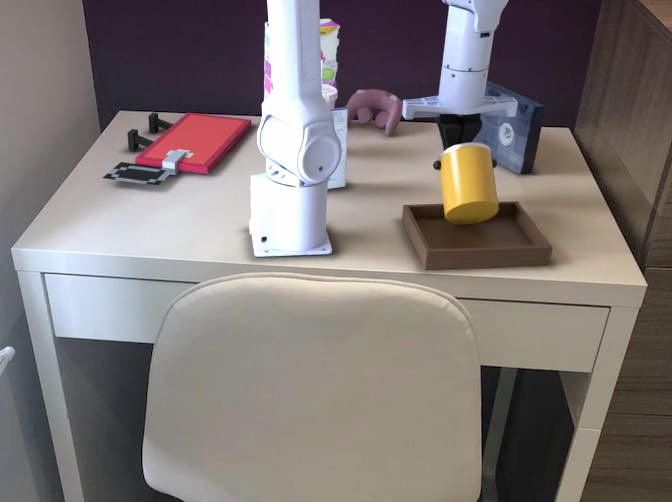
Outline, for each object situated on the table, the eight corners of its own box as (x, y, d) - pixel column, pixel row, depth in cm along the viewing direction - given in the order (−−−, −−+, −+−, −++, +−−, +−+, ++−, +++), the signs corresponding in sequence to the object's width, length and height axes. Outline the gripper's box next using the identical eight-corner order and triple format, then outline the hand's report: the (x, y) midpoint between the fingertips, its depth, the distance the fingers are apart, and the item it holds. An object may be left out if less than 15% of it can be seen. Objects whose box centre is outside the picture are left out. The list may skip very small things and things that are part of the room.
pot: (441, 240, 104) (451, 161, 98) (421, 206, 112) (430, 131, 106) (506, 237, 104) (520, 159, 99) (482, 204, 113) (494, 130, 107)
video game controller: (399, 140, 138) (411, 97, 137) (390, 135, 134) (402, 91, 133) (347, 129, 143) (358, 87, 141) (336, 124, 139) (347, 81, 137)
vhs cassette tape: (534, 172, 124) (547, 105, 118) (517, 175, 123) (530, 107, 117) (461, 133, 137) (470, 70, 131) (446, 135, 136) (454, 73, 130)
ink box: (340, 182, 120) (344, 101, 113) (346, 188, 118) (351, 107, 112) (264, 191, 117) (263, 109, 111) (269, 198, 116) (269, 115, 109)
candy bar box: (271, 135, 136) (272, 29, 126) (263, 125, 140) (262, 21, 130) (336, 128, 138) (341, 24, 129) (325, 118, 142) (330, 16, 133)
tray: (424, 269, 99) (426, 251, 98) (401, 221, 110) (403, 204, 108) (549, 265, 100) (553, 247, 99) (514, 217, 111) (517, 201, 109)
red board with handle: (90, 182, 119) (190, 196, 116) (88, 163, 117) (189, 176, 114) (167, 118, 142) (251, 128, 139) (166, 101, 141) (251, 111, 138)
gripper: (511, 55, 108) (495, 157, 116) (401, 57, 107) (392, 159, 115) (530, 71, 102) (511, 176, 110) (413, 73, 101) (403, 180, 109)
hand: (451, 169), depth 112 cm, fingers closed
